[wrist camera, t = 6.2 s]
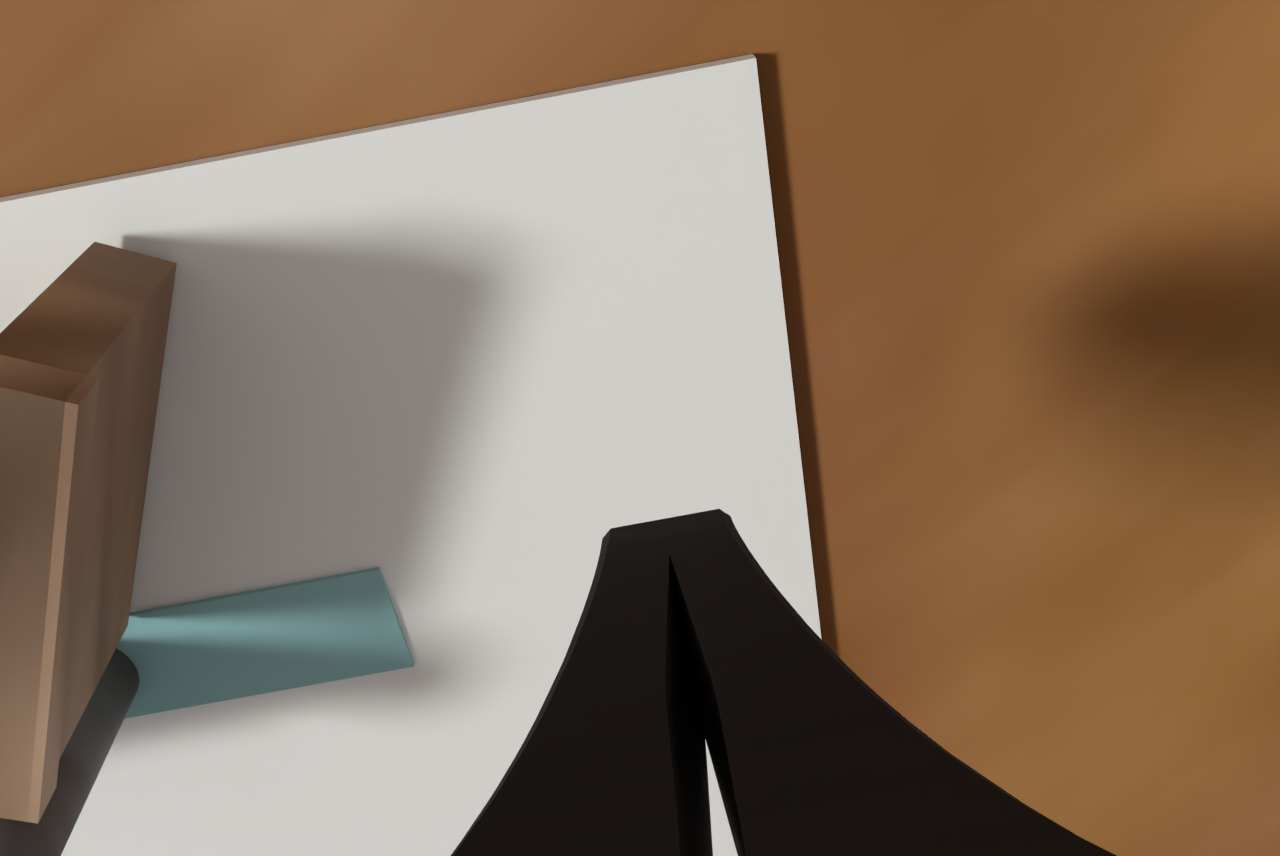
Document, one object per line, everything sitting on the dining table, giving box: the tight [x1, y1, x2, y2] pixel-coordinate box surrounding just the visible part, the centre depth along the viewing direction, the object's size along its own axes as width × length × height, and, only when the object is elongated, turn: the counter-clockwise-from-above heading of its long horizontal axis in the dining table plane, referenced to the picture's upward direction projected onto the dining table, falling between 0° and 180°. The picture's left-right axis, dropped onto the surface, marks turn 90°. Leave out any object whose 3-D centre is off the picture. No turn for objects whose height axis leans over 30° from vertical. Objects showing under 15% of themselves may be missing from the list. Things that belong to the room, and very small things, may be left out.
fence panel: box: [0, 242, 177, 824], centre depth 17 cm, size 2×7×4 cm, turn 162°
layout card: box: [0, 54, 822, 856], centre depth 21 cm, size 18×24×1 cm
